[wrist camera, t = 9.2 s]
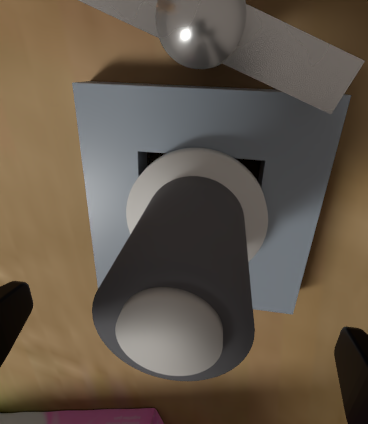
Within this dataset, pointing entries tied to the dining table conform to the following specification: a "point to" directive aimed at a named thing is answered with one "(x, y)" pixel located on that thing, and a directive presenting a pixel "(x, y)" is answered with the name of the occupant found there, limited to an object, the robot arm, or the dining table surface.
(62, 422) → the gum box
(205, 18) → the lever
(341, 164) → the dining table surface
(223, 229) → the plug
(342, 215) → the dining table surface
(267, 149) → the socket block
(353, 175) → the dining table surface
